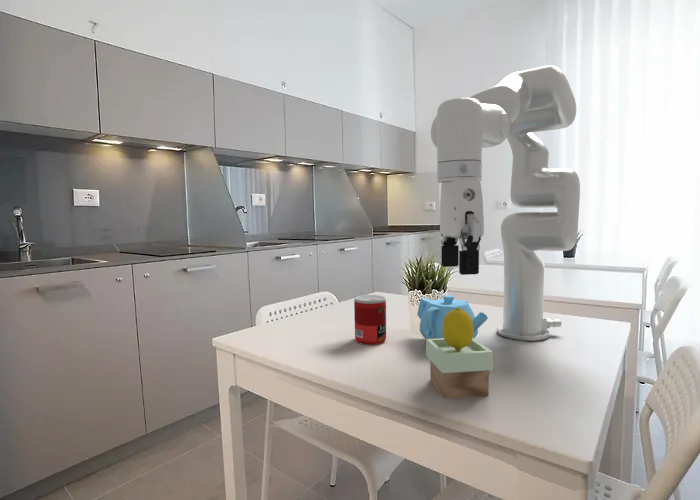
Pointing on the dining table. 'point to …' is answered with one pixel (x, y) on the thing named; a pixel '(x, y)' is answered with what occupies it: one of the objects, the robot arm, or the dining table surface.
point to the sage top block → (459, 356)
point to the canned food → (370, 319)
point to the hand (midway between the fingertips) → (458, 270)
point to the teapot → (443, 315)
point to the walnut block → (460, 383)
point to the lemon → (458, 329)
